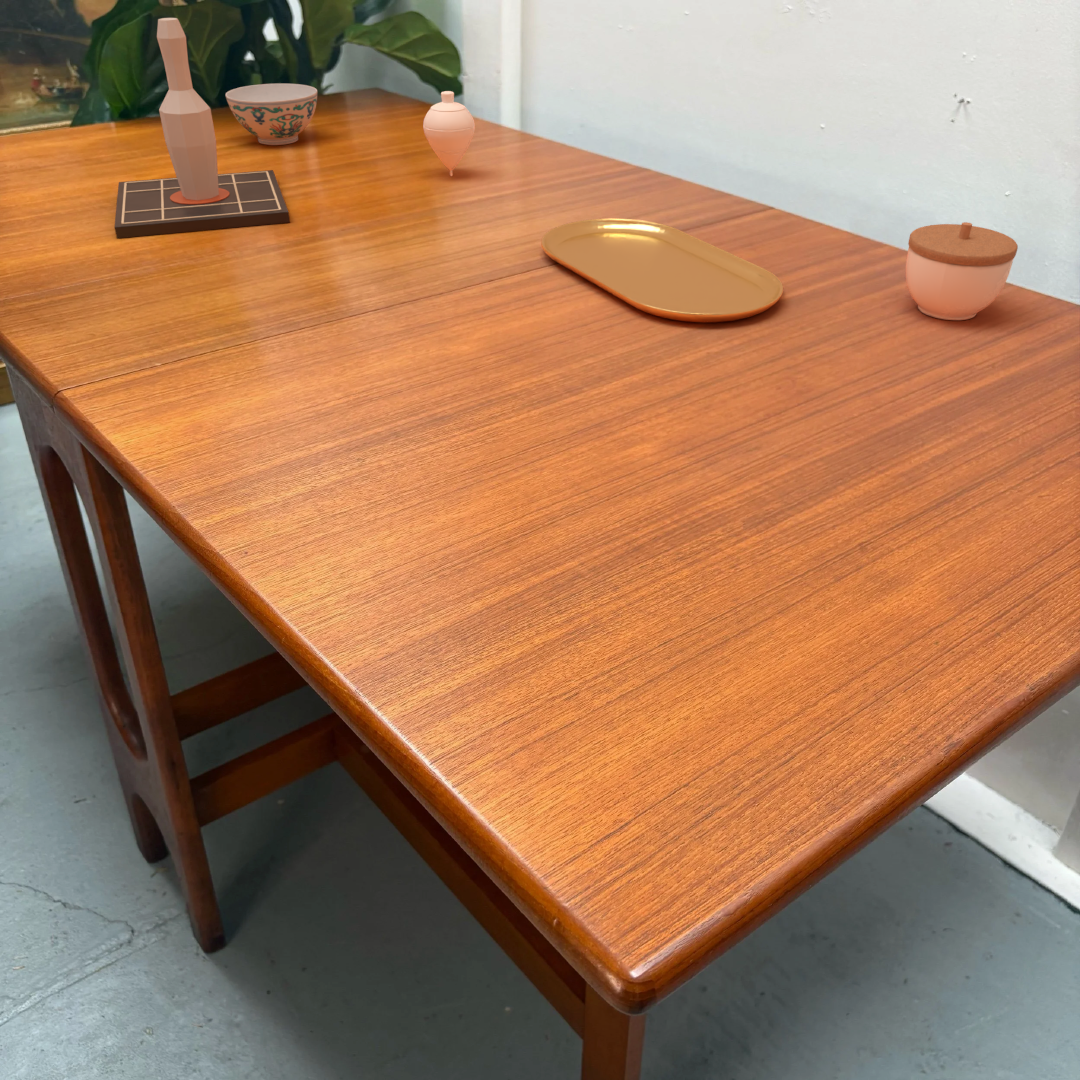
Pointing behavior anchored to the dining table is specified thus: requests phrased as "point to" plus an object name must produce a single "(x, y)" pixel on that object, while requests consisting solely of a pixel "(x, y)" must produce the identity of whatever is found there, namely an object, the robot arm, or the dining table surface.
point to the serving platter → (663, 269)
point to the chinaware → (273, 110)
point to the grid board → (198, 205)
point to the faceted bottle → (186, 119)
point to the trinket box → (957, 268)
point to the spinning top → (449, 130)
